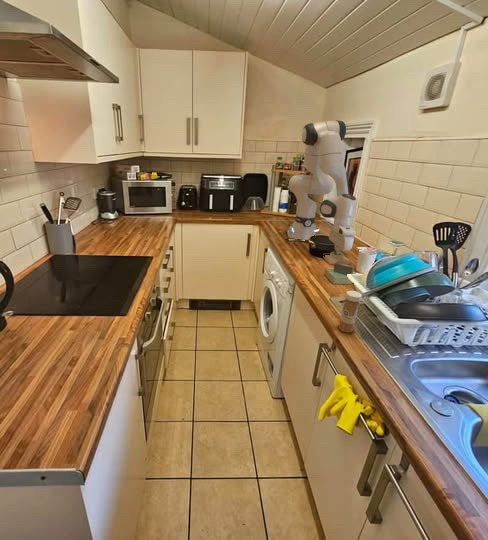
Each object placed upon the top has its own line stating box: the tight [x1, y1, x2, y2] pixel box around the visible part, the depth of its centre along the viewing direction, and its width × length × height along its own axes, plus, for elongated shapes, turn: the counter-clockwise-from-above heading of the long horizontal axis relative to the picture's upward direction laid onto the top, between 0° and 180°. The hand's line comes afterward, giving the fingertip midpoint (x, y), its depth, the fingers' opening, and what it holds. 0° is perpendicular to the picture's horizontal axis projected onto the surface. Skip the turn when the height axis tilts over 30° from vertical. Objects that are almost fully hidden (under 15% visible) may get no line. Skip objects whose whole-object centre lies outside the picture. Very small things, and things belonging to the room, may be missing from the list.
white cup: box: [355, 248, 378, 274], centre depth 144 cm, size 8×8×10 cm
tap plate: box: [324, 268, 357, 285], centre depth 136 cm, size 12×12×3 cm
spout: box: [333, 262, 355, 275], centre depth 135 cm, size 8×2×4 cm, turn 47°
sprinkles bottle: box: [338, 290, 363, 333], centre depth 97 cm, size 5×5×14 cm
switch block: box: [322, 251, 351, 265], centre depth 157 cm, size 10×10×4 cm
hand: (337, 253), depth 156 cm, fingers closed, pressing on button
